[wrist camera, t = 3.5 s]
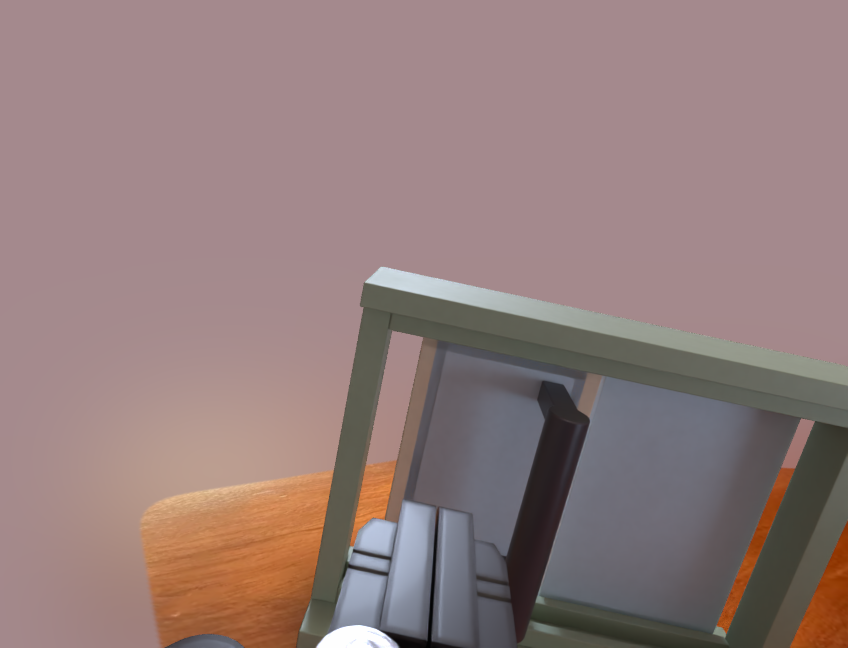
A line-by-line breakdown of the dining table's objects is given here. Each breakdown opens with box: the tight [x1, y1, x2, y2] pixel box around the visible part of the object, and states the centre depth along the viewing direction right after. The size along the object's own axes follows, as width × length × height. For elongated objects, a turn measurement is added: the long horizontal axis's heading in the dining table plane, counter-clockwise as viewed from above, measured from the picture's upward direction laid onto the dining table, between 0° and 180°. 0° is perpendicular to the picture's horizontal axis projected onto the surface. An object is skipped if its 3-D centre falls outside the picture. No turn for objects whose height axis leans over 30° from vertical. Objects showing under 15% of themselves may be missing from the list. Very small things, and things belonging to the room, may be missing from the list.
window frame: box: [296, 267, 848, 648], centre depth 25 cm, size 6×22×17 cm, turn 86°
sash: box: [385, 337, 602, 644], centre depth 23 cm, size 5×8×14 cm, turn 86°
